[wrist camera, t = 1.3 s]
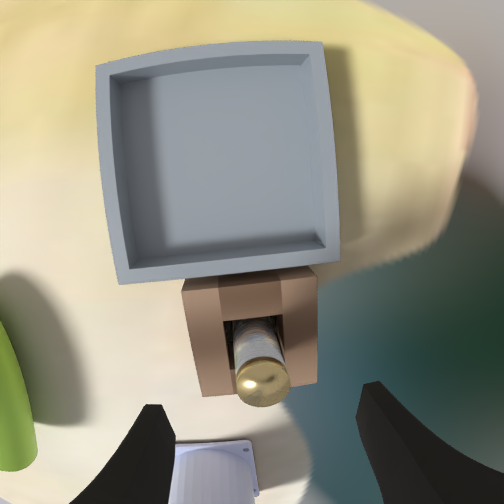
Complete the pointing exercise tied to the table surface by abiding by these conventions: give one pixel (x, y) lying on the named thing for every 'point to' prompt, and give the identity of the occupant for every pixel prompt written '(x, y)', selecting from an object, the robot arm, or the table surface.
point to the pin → (259, 362)
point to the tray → (218, 160)
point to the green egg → (14, 412)
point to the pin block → (251, 306)
